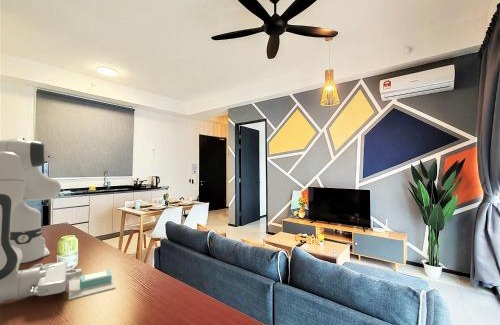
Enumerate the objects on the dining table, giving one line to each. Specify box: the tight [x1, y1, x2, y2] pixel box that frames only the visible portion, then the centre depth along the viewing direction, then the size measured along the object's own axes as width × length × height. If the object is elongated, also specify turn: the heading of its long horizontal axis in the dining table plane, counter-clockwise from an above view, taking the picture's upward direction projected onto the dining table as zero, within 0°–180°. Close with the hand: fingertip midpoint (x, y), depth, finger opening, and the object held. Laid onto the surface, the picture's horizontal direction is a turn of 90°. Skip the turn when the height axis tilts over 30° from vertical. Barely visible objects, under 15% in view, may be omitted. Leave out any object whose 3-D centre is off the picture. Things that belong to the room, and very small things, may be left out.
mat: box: [68, 277, 116, 301], centre depth 91 cm, size 15×14×1 cm
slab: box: [79, 269, 113, 289], centre depth 93 cm, size 6×3×10 cm
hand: (82, 271), depth 90 cm, fingers closed
